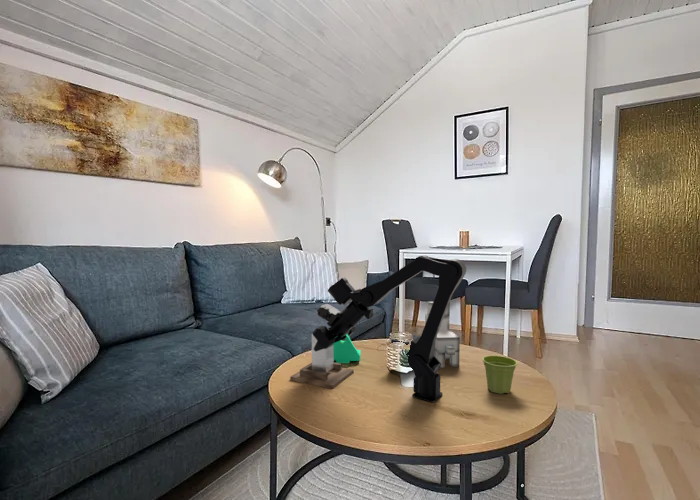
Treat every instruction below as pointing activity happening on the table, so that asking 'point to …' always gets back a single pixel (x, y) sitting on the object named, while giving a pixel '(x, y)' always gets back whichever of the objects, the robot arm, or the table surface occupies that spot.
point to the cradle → (322, 376)
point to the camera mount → (345, 351)
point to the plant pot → (499, 373)
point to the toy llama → (445, 340)
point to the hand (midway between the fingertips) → (319, 347)
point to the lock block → (322, 358)
